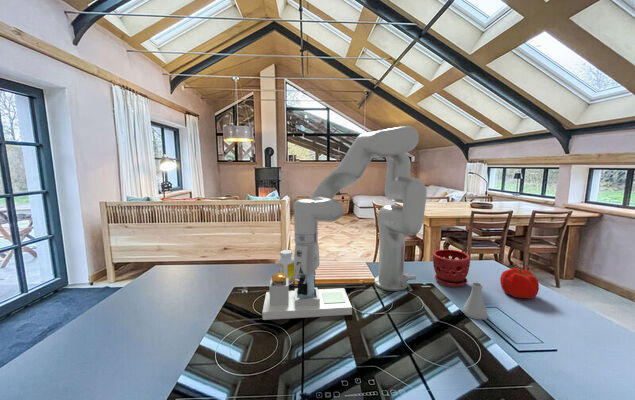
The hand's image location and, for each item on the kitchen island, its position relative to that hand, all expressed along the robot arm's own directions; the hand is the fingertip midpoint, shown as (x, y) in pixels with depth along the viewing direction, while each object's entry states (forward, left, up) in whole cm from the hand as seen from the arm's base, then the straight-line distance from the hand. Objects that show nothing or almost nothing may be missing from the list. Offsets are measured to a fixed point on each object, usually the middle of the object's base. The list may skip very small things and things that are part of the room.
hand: (306, 289), depth 89 cm
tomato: (-77, 0, -6) cm, 77 cm away
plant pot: (-58, -12, -6) cm, 59 cm away
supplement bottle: (+7, -19, -6) cm, 21 cm away
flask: (-53, +10, -6) cm, 54 cm away
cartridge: (0, 0, -3) cm, 3 cm away
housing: (0, 0, -6) cm, 6 cm away
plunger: (+9, 0, -3) cm, 9 cm away
